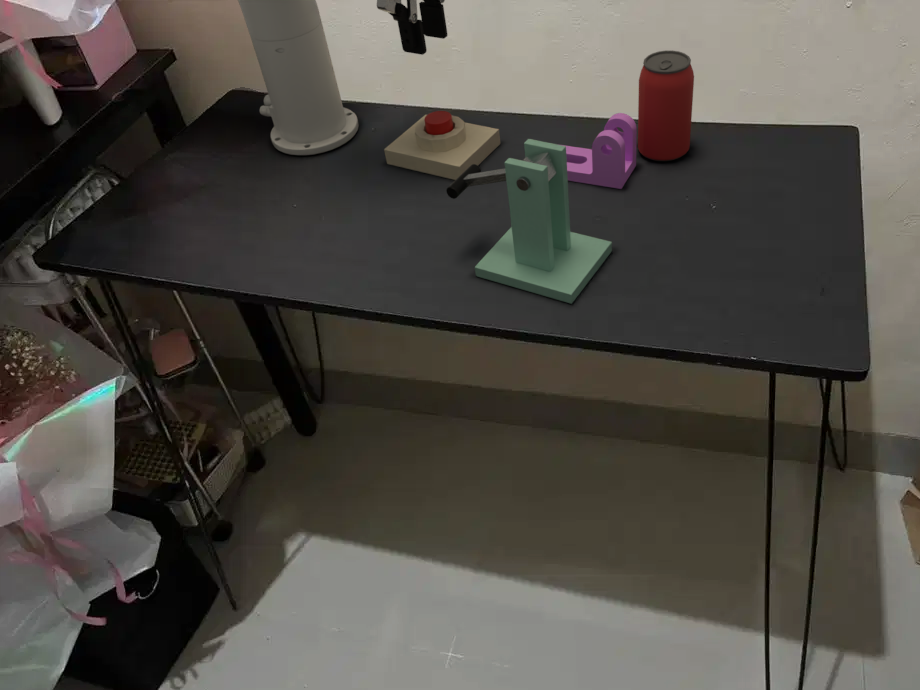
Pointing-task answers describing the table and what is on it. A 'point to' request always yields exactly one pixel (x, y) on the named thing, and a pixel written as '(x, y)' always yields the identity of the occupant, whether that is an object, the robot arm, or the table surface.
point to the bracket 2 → (606, 155)
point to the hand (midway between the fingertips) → (425, 42)
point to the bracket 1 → (542, 232)
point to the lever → (493, 175)
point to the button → (438, 123)
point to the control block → (442, 148)
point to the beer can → (665, 105)
